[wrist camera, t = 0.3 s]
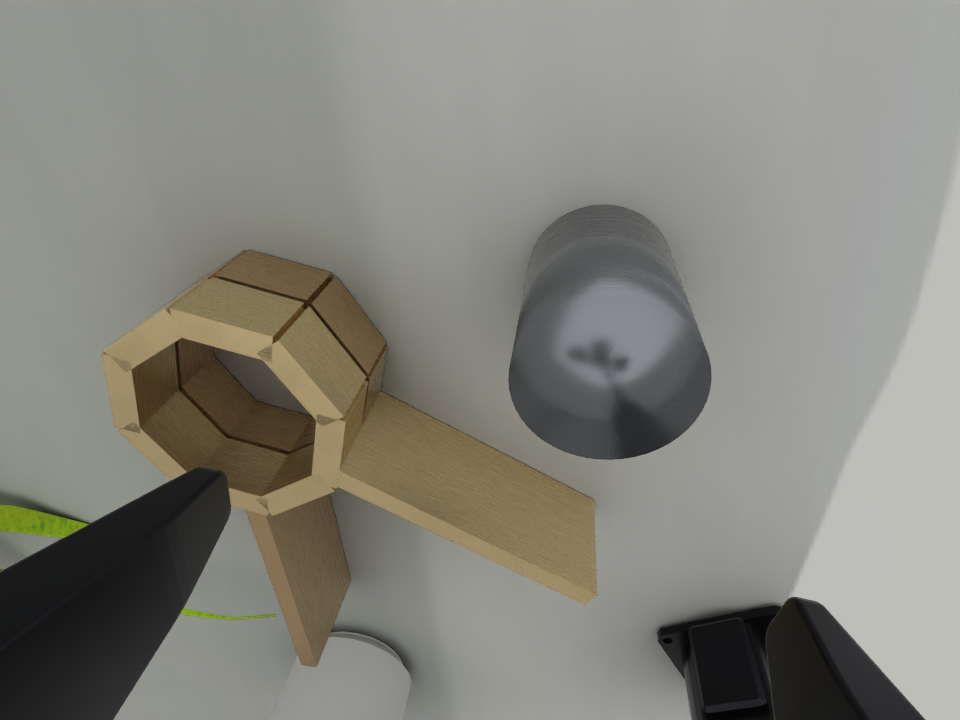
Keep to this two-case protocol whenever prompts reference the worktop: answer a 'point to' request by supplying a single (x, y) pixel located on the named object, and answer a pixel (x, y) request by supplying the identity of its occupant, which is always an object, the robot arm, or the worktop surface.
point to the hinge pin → (606, 339)
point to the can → (346, 683)
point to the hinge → (326, 439)
